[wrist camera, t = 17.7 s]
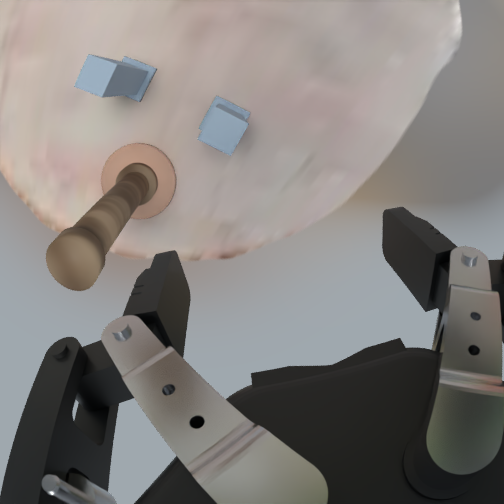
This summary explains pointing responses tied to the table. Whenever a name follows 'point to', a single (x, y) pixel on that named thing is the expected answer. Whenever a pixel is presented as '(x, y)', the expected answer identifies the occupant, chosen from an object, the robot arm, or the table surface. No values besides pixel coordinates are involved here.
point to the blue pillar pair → (135, 84)
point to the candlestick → (99, 229)
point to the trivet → (153, 160)
